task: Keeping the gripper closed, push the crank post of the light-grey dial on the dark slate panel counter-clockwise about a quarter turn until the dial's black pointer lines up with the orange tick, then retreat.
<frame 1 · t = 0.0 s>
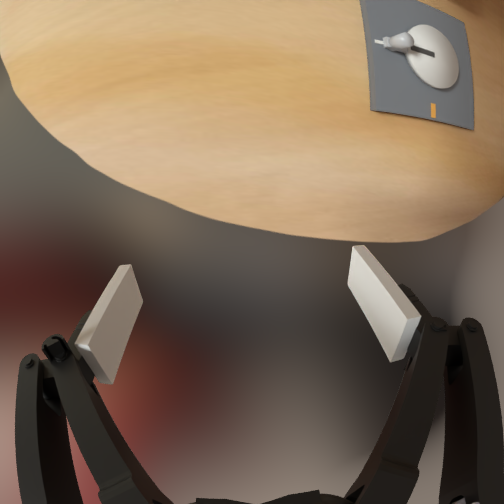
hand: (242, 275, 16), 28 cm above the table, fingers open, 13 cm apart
dial: (430, 52, 26), point 5 cm above the table, hinge at 0.0°
panel: (423, 57, 31), on the table
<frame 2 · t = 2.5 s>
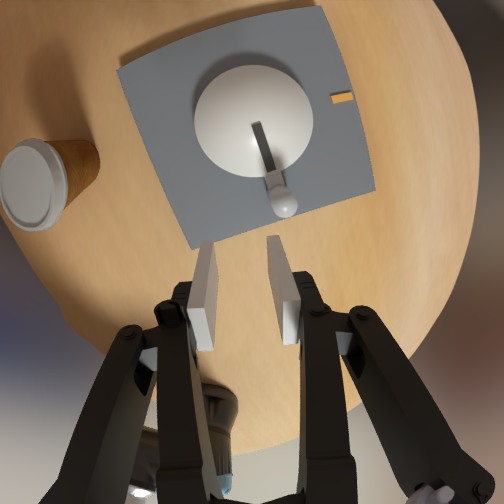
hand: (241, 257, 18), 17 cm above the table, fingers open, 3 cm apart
dial: (261, 139, 25), point 5 cm above the table, hinge at 0.0°
disposable coffee cup: (81, 163, 29), on the table
panel: (252, 120, 28), on the table
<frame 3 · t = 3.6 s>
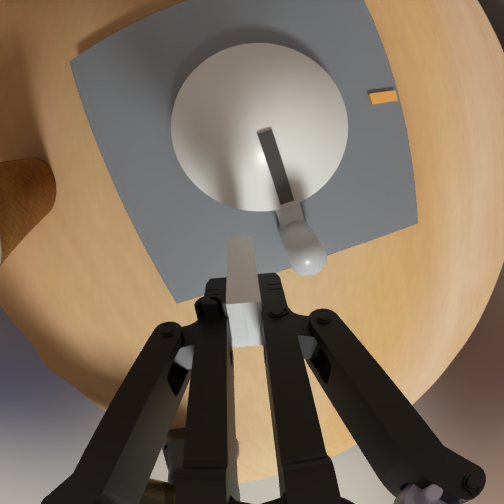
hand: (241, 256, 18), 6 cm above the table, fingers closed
dial: (273, 155, 17), point 5 cm above the table, hinge at 0.0°
disposable coffee cup: (35, 187, 20), on the table
panel: (257, 125, 20), on the table
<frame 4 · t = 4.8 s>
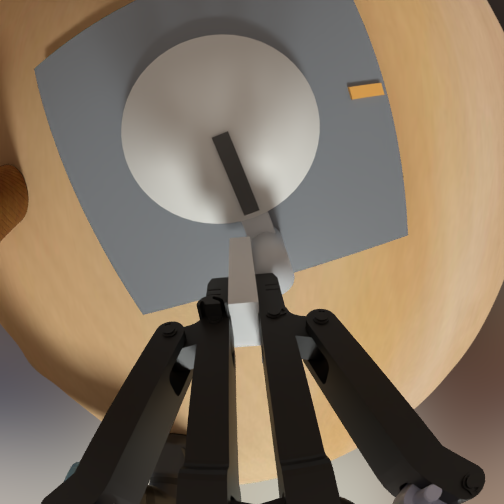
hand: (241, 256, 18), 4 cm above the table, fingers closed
dial: (229, 161, 15), point 5 cm above the table, hinge at 2.7°, touching gripper
disposable coffee cup: (10, 193, 19), on the table
panel: (221, 126, 18), on the table
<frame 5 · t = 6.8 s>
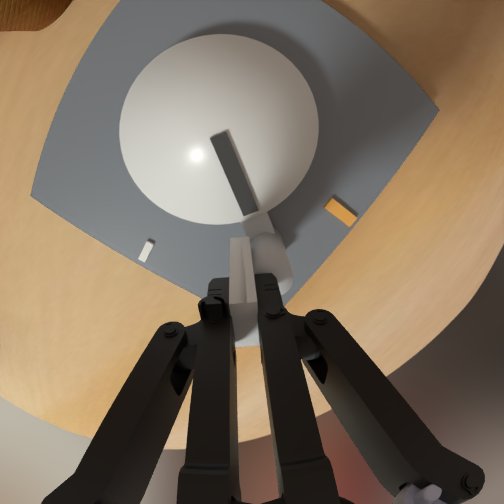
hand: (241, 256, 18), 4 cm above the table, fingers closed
dial: (227, 162, 14), point 5 cm above the table, hinge at 55.4°, touching gripper
disposable coffee cup: (50, 3, 10), on the table
panel: (220, 126, 18), on the table
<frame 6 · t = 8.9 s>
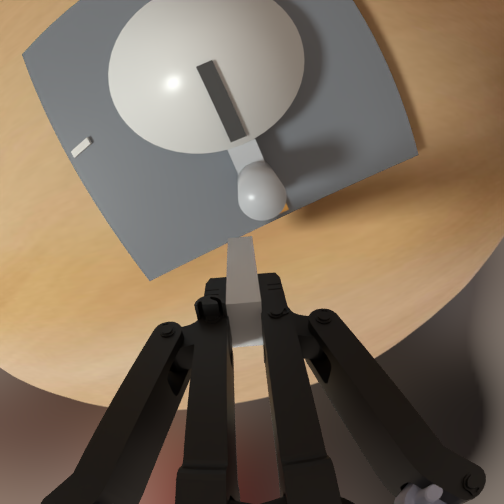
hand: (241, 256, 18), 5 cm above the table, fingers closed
dial: (213, 83, 13), point 5 cm above the table, hinge at 85.9°, touching panel
panel: (208, 69, 16), on the table
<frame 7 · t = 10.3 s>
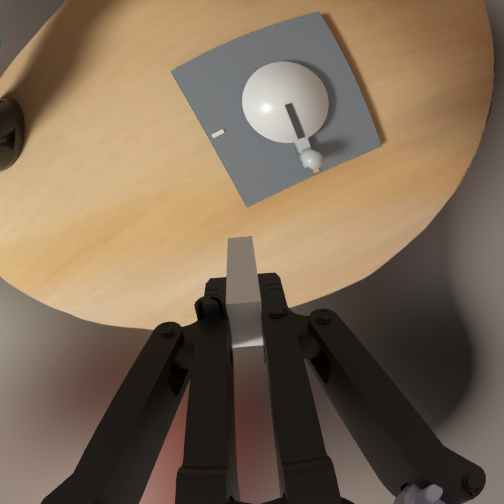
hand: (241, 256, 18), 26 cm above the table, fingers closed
dial: (293, 114, 33), point 5 cm above the table, hinge at 85.9°
panel: (282, 102, 36), on the table
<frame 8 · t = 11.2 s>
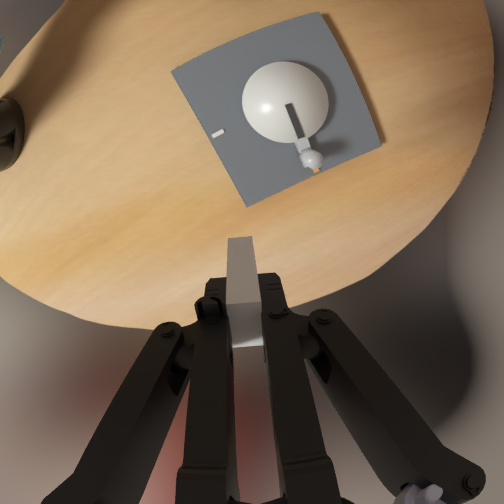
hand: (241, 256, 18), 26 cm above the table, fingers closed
dial: (293, 114, 33), point 5 cm above the table, hinge at 85.9°, touching panel
panel: (282, 102, 36), on the table
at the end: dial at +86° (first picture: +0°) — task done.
